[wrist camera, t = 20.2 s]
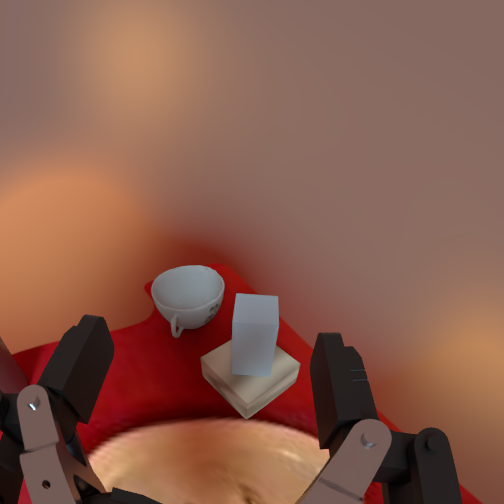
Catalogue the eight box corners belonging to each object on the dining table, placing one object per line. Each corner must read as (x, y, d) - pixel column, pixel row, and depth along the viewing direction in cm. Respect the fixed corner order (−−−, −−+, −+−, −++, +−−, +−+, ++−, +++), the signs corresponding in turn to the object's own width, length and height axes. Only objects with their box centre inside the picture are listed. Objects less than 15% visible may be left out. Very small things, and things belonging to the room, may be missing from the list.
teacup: (171, 293, 59) (166, 260, 55) (230, 302, 58) (231, 268, 54) (142, 346, 47) (132, 311, 43) (213, 360, 45) (210, 326, 41)
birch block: (203, 377, 43) (200, 357, 40) (251, 347, 49) (252, 327, 46) (246, 420, 37) (247, 403, 34) (295, 383, 43) (300, 363, 40)
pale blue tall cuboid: (231, 374, 38) (232, 321, 33) (234, 346, 42) (236, 293, 37) (270, 376, 38) (279, 325, 33) (270, 348, 42) (277, 296, 37)
